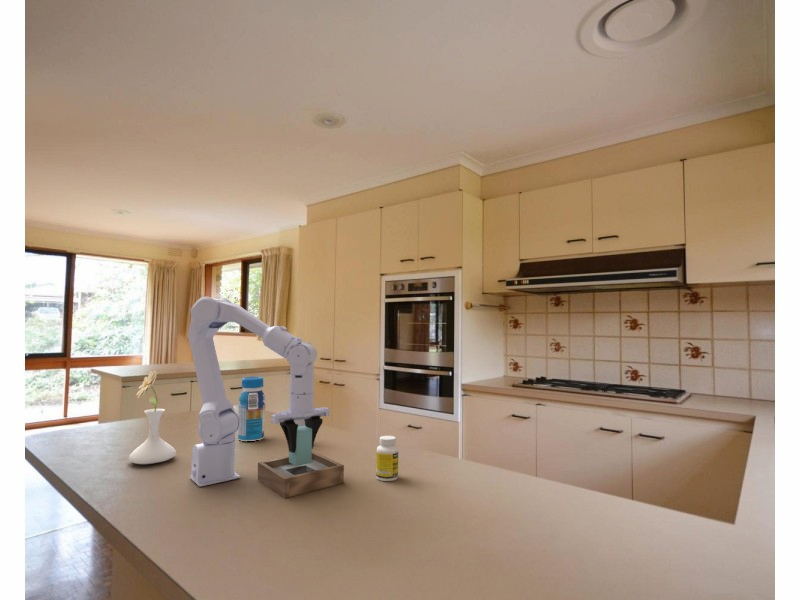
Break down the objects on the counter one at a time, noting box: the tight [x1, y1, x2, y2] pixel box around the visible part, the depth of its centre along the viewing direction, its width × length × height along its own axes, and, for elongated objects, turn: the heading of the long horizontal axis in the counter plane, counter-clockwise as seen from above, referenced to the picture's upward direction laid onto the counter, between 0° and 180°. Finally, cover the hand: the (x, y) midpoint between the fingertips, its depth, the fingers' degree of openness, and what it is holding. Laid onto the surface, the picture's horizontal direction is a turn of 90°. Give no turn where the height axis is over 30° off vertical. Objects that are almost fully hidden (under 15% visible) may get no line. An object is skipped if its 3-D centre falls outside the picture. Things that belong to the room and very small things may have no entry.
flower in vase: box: [128, 370, 177, 465], centre depth 120 cm, size 13×11×25 cm
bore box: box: [257, 451, 345, 499], centre depth 105 cm, size 15×15×4 cm
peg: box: [288, 426, 313, 466], centre depth 106 cm, size 4×4×8 cm
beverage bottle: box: [237, 376, 266, 441], centre depth 144 cm, size 8×8×20 cm
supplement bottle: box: [375, 435, 399, 482], centre depth 107 cm, size 5×5×10 cm
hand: (300, 449), depth 105 cm, fingers closed on peg, 4 cm apart
